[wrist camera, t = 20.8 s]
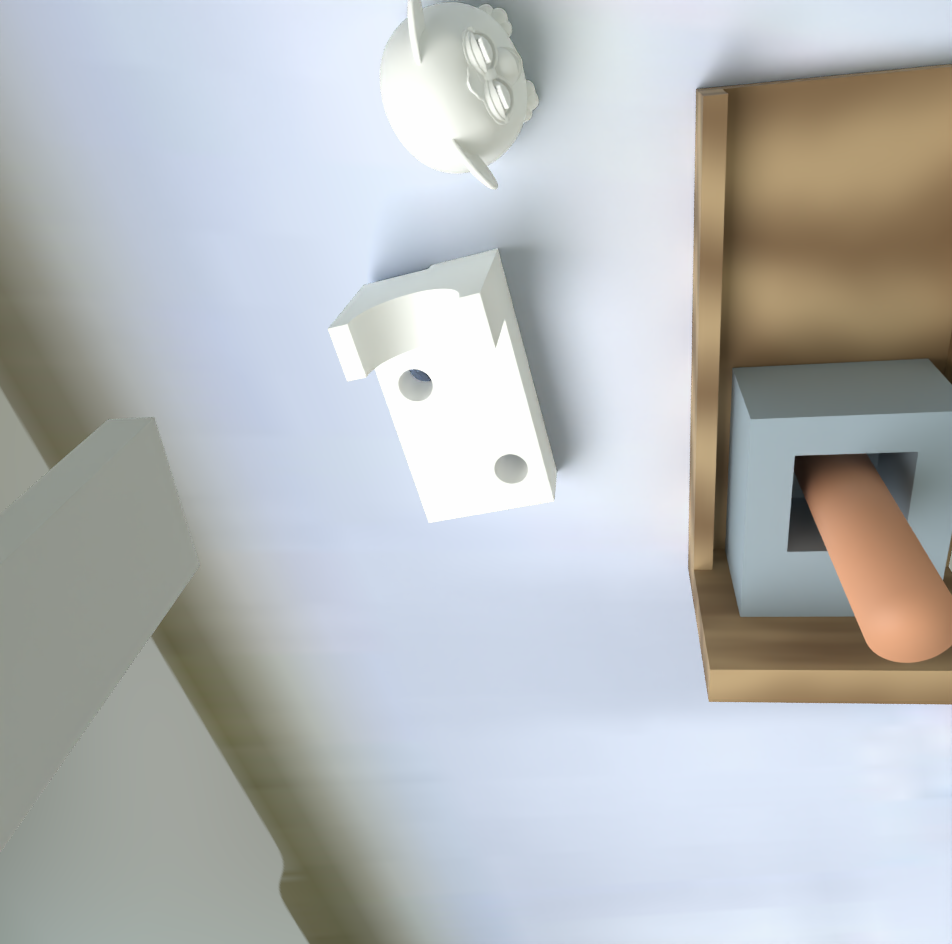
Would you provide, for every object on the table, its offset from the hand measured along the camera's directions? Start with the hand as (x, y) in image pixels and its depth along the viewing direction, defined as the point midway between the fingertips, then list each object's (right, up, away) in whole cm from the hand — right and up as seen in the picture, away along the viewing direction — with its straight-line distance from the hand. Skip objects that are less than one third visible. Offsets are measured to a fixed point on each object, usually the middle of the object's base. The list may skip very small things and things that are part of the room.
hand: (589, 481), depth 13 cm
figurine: (-2, +18, +27) cm, 33 cm away
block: (+16, +1, +33) cm, 36 cm away
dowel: (+16, +1, +31) cm, 35 cm away
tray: (+16, +6, +31) cm, 35 cm away
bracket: (-2, +5, +35) cm, 35 cm away
